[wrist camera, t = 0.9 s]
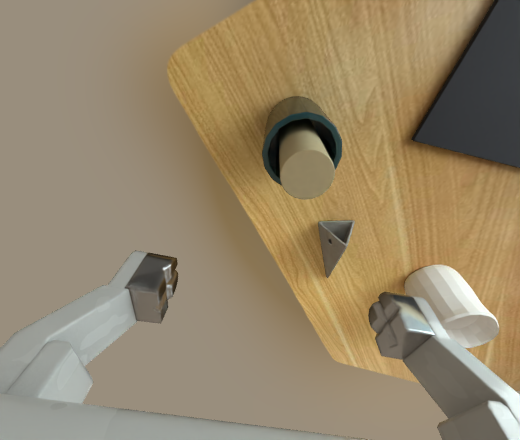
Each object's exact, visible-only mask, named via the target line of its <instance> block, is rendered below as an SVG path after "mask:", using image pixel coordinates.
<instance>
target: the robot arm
mask: <svg viewBox="0 0 520 440" xmlns="http://www.w3.org/2000/svg"><path fill="white" fill-rule="evenodd" d="M176 266H177V258H174V257H168V256H163V255H158V254H153V253H147V252H141V251H134V252H132V253H131V254H130V256H129V257H128V258H127V260H126V261H125V262H124V264H123V265H122V267H121V268H120V269H119V271H118V272H117V273H116V275H115V276H114V277H113V279H112V280H111V281H110V283H109V284H108V285H107V286H106V285H102V286H100V287H98V288H97V289H95V290H93V291H91V292H89V293H87V294H86V295H84V296H82V297H80V298H78V299H76V300H75V301H73V302H71V303H69V304H67V305H65V306H63V307H62V308H60V309H58V310H56V311H54V312H52V313H51V314H49V315H47V316H45V317H43V318H41V319H40V320H38V321H36V322H34V323H32V324H30V325H28V326H27V327H25V328H23V329H21V330H19V331H17V332H16V333H14V334H13V336H12V337H11V338H10V339H9V340H8V341H7V342H6V343H5V344H4V345H3V346H2V347H1V348H0V440H370V439H362V438H354V437H346V436H338V435H330V434H321V433H314V432H306V431H298V430H290V429H282V428H274V427H266V426H258V425H249V424H241V423H233V422H225V421H217V420H209V419H201V418H193V417H185V416H177V415H168V414H161V413H153V412H145V411H137V410H129V409H121V408H113V407H105V406H96V405H89V404H82V402H83V401H84V399H85V397H86V395H87V393H88V391H89V390H90V388H91V386H92V384H93V380H92V377H91V376H90V374H89V372H88V371H87V369H86V368H85V365H86V364H88V363H89V362H90V361H91V360H92V359H94V358H95V357H96V356H97V355H98V354H100V353H101V352H102V351H103V350H104V349H105V348H107V347H108V346H109V345H110V344H111V343H113V342H114V341H115V340H116V339H117V338H118V337H120V336H121V335H122V334H123V333H124V332H126V330H128V329H129V328H130V327H131V326H132V325H134V324H135V323H136V322H137V321H144V322H153V323H161V322H162V320H163V318H164V315H165V313H166V311H167V308H168V299H170V298H171V297H172V296H173V294H174V292H175V289H176V285H177V281H178V272H177V271H176V270H175V269H176ZM378 298H379V301H378V302H376V303H373V304H372V306H371V307H370V309H369V315H368V316H369V322H370V325H371V327H372V328H373V330H374V331H375V332H376V333H377V334H376V337H375V339H376V342H377V345H378V348H379V350H380V353H381V356H385V357H390V358H396V359H402V360H403V362H404V363H405V365H406V366H407V367H408V368H409V370H410V371H411V372H412V373H413V375H414V376H415V377H416V378H417V380H418V381H419V382H420V383H421V385H422V386H423V387H424V388H425V390H426V391H427V392H428V393H429V395H430V396H431V397H432V398H433V400H434V401H435V402H436V403H437V404H438V406H439V407H440V408H441V409H442V411H443V412H444V413H445V415H446V416H447V417H448V418H449V419H447V420H445V421H443V422H440V423H439V425H438V427H437V428H438V430H439V433H440V435H441V437H442V440H520V395H519V394H518V393H517V392H516V391H515V390H513V389H512V388H511V387H510V386H509V385H507V384H506V383H505V382H504V381H503V380H502V379H500V378H499V377H498V376H497V375H496V374H494V373H493V372H492V371H491V370H490V369H489V368H487V367H486V366H485V365H484V364H483V363H481V362H480V361H479V360H478V359H477V358H476V357H474V356H473V355H472V354H471V353H470V352H469V351H467V350H466V349H465V348H464V347H463V346H461V345H460V344H459V343H458V342H457V341H456V340H454V339H450V338H449V336H448V334H447V333H446V331H445V329H444V328H443V326H442V325H441V323H440V321H439V320H438V318H437V317H436V315H435V313H434V312H433V310H432V309H431V307H430V305H429V304H428V302H427V301H426V300H425V299H424V298H422V297H416V296H409V295H404V294H397V293H391V292H383V293H381V294H380V295H379V297H378Z"/></svg>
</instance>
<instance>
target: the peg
mask: <svg viewBox="0 0 520 440" xmlns="http://www.w3.org/2000/svg"><path fill="white" fill-rule="evenodd" d="M278 135H279V161H280V180H281V184H282V186H283V188H284V190H285V191H286V192H287V193H288V194H289V195H291V196H293V197H295V198H298V199H312V198H316V197H318V196H320V195H322V194H323V193H324V192H326V191H327V190H328V189H329V187H330V186H331V184H332V182H333V180H334V176H335V168H334V164H333V162H332V160H331V158H330V156H329V154H328V153H327V151H326V149H325V147H324V145H323V143H322V141H321V139H320V137H319V136H318V134H317V132H316V130H315V128H314V126H313V124H312V122H311V121H310V119H307V118H305V119H299V120H294V121H291V122H289V123H288V124H286V125H284V126H283V127H281V128H280V129H279V130H278Z"/></svg>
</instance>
